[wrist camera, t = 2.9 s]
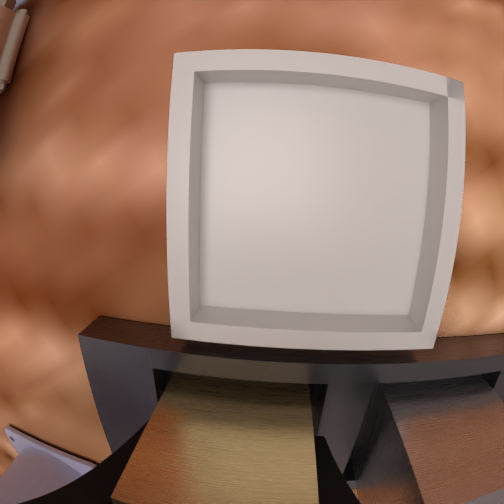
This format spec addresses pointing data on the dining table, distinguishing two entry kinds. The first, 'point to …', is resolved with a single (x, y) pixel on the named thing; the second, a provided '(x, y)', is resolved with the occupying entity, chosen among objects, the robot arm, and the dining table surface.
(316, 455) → the robot arm
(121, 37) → the dining table surface
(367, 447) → the grey rectangular block
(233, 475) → the tan rectangular block
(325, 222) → the tray
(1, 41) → the pneumatic valve
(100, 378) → the rail
